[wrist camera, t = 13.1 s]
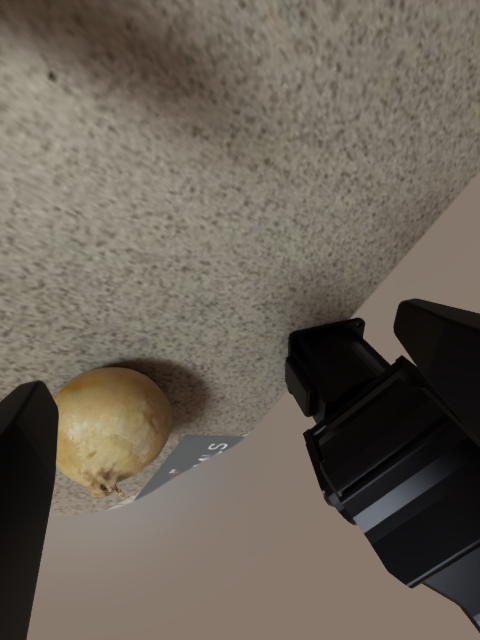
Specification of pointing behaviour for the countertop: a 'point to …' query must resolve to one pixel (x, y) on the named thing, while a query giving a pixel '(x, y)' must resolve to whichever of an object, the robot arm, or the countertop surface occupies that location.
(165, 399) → the onion
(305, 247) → the countertop surface
